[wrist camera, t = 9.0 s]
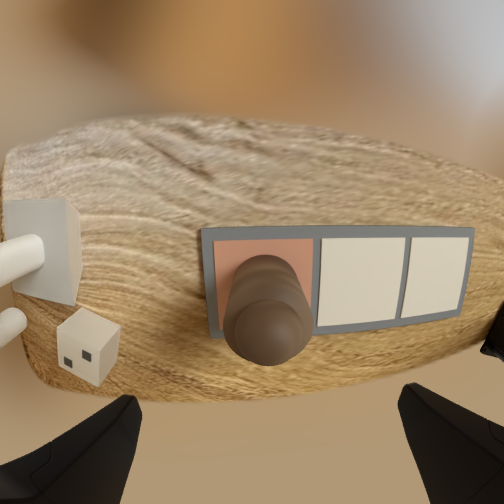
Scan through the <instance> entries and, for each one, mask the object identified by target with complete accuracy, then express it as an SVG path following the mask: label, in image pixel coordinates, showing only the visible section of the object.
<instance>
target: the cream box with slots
mask: <svg viewBox="0 0 504 504" xmlns="http://www.w3.org/2000/svg"><path fill="white" fill-rule="evenodd" d="M120 332H121V326H120V325H118V324H116V323H114V322H111V321H109V320H107V319H105V318H103V317H101V316H99V315H97V314H95V313H93V312H90V311H88V310H86V309H84V308H82V307H81V308H80V309H79V310H78V311H76V312H75V313H74V314H73V315H71V316H70V317H69V318H68V319H67V320H65V321H64V322H63V323H62V324H60V325H59V326H58V327H57V350H58V364H59V366H60V367H62V368H64V369H65V370H67V371H69V372H70V373H72V374H74V375H76V376H77V377H79V378H81V379H83V380H85V381H87V382H89V383H91V384H92V385H94V386H96V387H98V388H99V386H100V385H101V383H102V382H103V381H104V379H105V378H106V376H107V375H108V373H109V372H110V370H111V369H112V368H113V366H114V365H115V363H116V362H117V357H118V348H119V339H120Z"/></svg>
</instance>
